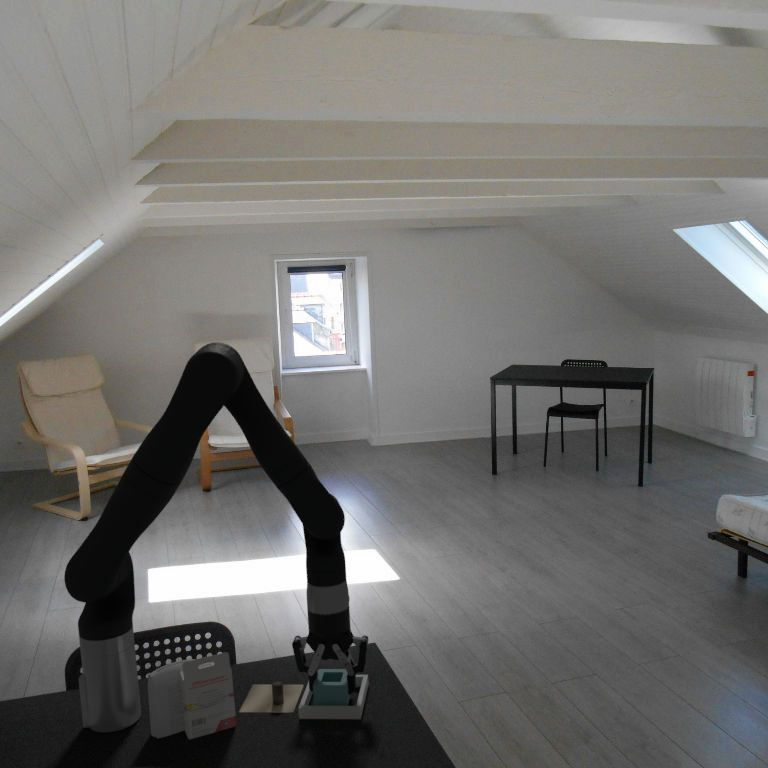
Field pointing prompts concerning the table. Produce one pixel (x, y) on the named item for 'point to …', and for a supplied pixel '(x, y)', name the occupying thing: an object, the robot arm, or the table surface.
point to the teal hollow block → (331, 688)
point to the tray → (334, 711)
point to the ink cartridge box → (207, 695)
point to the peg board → (272, 698)
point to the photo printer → (166, 700)
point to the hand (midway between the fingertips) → (333, 692)
